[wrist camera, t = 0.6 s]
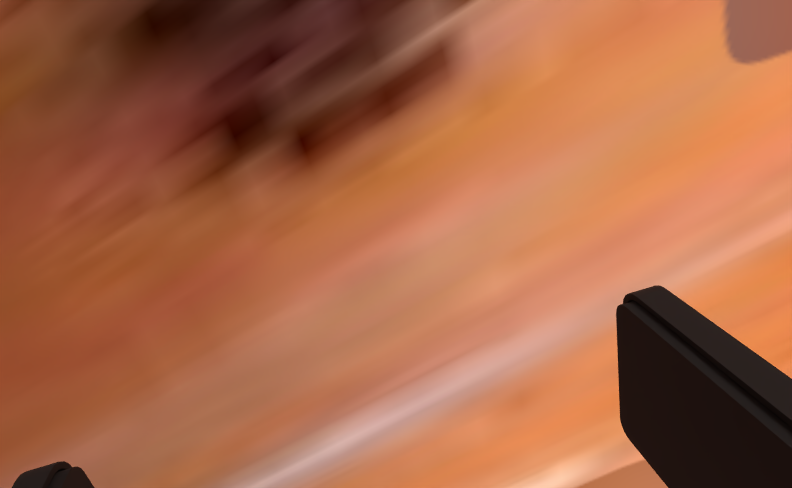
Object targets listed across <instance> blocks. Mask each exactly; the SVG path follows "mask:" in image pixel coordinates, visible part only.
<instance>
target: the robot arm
mask: <svg viewBox="0 0 792 488" xmlns="http://www.w3.org/2000/svg"><path fill="white" fill-rule="evenodd" d="M616 318H617V346H618V373H619V400H620V420H621V424H622V427H623V429H624V432H625V434H626V435H627V437H628V438H629V440H630V441H631V442H632V444H633V445H634V446H635V447H636V448H637V450H638V451H639V452H640V453H641V455H642V456H643V457H644V458H645V459H646V461H647V462H648V463H649V464H650V466H651V467H652V468H653V469H654V470H655V472H656V473H657V474H658V475H659V477H660V478H661V479H662V480H663V482H664V483H665V484H666V485H667V486H668V488H792V379H791V378H790V377H788V376H787V375H786V374H784V373H783V372H781V371H780V370H779V369H777V368H776V367H774V366H773V365H772V364H770V363H769V362H767V361H766V360H765V359H763V358H762V357H760V356H759V355H758V354H756V353H755V352H753V351H752V350H751V349H749V348H748V347H746V346H745V345H744V344H742V343H741V342H739V341H738V340H737V339H735V338H734V337H732V336H731V335H730V334H728V333H727V332H725V331H724V330H723V329H721V328H720V327H718V326H717V325H716V324H714V323H713V322H711V321H710V320H709V319H707V318H706V317H704V316H703V315H702V314H700V313H699V312H697V311H696V310H695V309H693V308H692V307H690V306H689V305H688V304H686V303H685V302H683V301H682V300H681V299H679V298H678V297H677V296H675V295H674V294H672V293H671V292H670V291H668V290H667V289H665V288H664V287H662V286H653V287H649V288H646V289H642V290H639V291H636V292H632V293H629V294H627V295H625V297H624V299H623V304H621V305H619V306H618V307H617V311H616ZM12 488H94V486H93V485H92V483H91V482H90V480H89V479H88V477H87V475H86V474H85V472H84V471H83V470H82V469H81V468H79V467H71V465H70V464H68V463H66V462H57V463H53V464H50V465H47V466H43V467H40V468H37V469H33V470H30V471H26V472H24V473H23V474H21V475H20V476H19V477H18V478H17V480H16V481H15V483H14V485H13V486H12Z"/></svg>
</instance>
